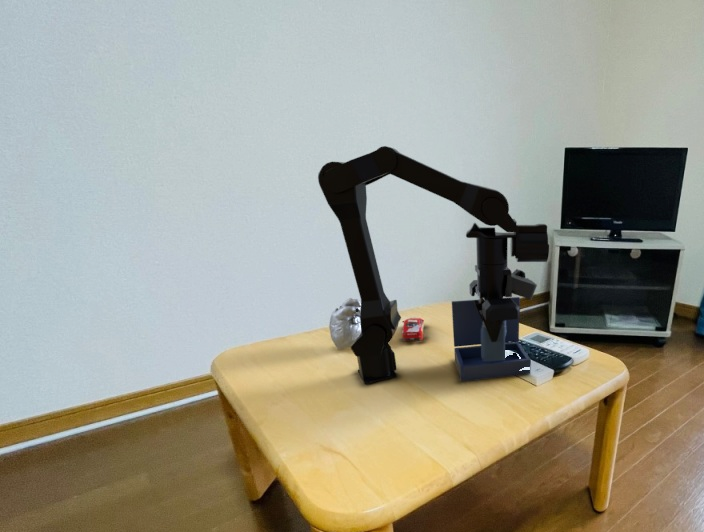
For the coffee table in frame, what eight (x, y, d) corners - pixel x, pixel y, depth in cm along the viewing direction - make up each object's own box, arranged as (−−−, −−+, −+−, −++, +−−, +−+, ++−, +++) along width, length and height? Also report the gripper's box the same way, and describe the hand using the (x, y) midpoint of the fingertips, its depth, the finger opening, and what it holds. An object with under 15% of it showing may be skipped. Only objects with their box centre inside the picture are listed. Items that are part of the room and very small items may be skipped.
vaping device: (507, 360, 80) (507, 302, 77) (482, 362, 79) (481, 302, 76) (505, 357, 82) (505, 300, 79) (480, 358, 81) (479, 301, 78)
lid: (519, 297, 84) (514, 291, 89) (451, 302, 81) (449, 295, 85) (518, 341, 89) (513, 333, 93) (454, 346, 85) (451, 338, 90)
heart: (341, 333, 100) (328, 290, 93) (377, 334, 99) (366, 292, 93) (322, 356, 92) (306, 311, 85) (361, 358, 91) (347, 312, 84)
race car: (405, 325, 107) (403, 311, 105) (425, 324, 108) (424, 310, 106) (400, 344, 95) (398, 329, 94) (423, 343, 96) (422, 327, 94)
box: (530, 373, 82) (530, 359, 81) (461, 381, 79) (460, 367, 77) (518, 355, 91) (518, 341, 89) (454, 361, 87) (454, 347, 86)
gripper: (549, 271, 67) (545, 353, 73) (519, 251, 83) (518, 320, 90) (485, 274, 64) (486, 359, 71) (468, 253, 81) (470, 324, 87)
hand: (492, 338), depth 80 cm, fingers closed on vaping device, 2 cm apart
